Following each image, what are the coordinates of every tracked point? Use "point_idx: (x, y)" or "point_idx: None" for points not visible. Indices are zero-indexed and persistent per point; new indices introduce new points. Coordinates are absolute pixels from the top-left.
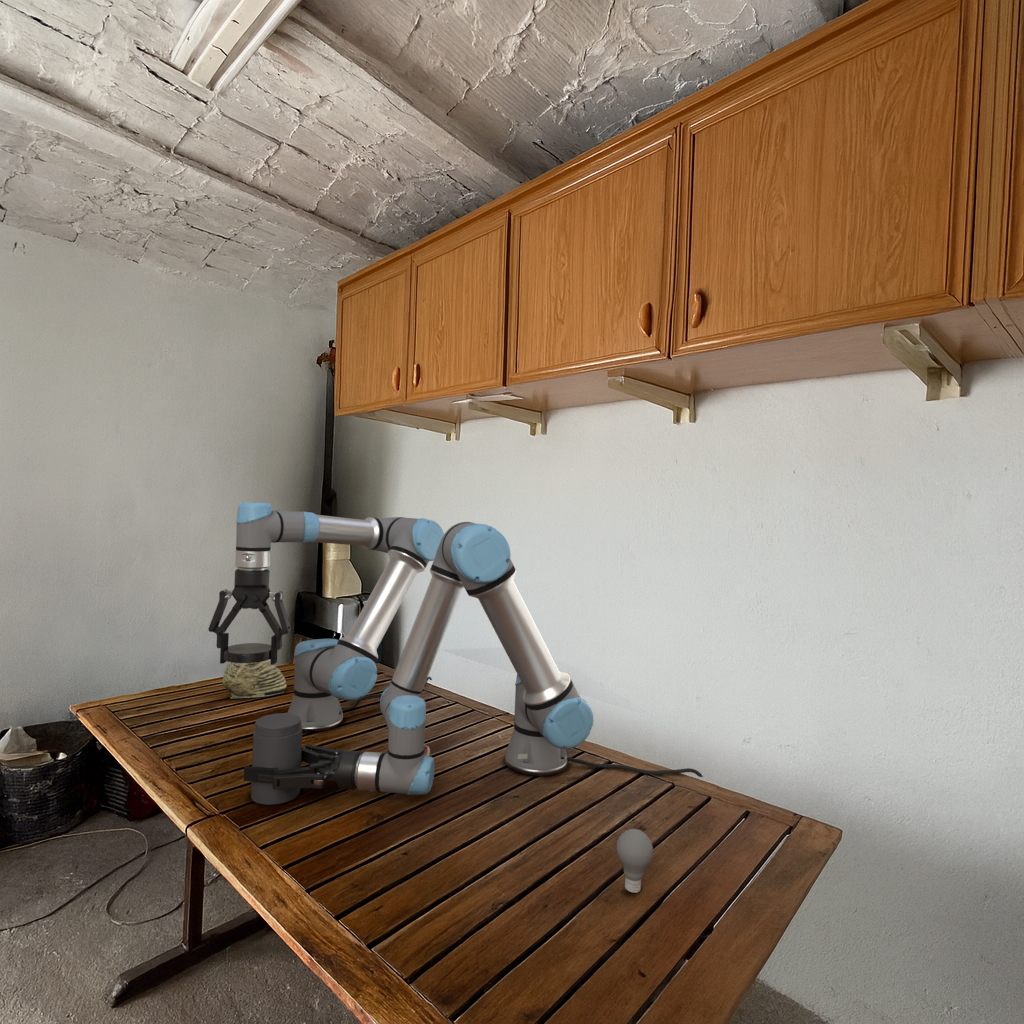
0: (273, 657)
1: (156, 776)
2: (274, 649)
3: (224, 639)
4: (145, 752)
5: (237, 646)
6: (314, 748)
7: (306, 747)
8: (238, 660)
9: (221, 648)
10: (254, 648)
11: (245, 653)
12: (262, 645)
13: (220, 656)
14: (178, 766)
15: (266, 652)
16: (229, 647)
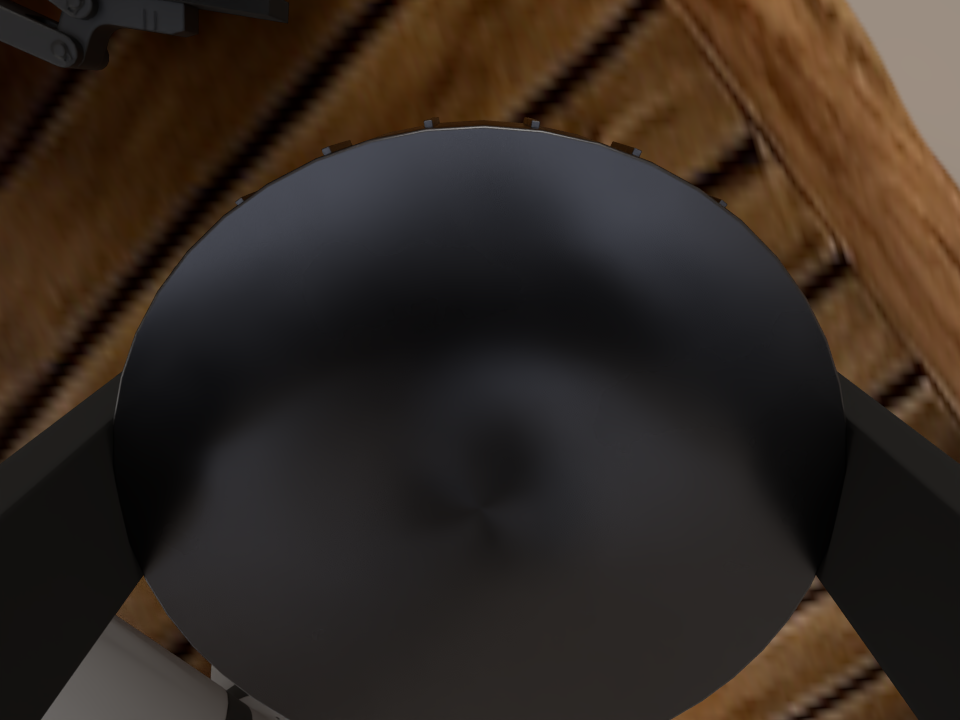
0: (115, 378)
1: (820, 69)
2: (46, 443)
3: (954, 526)
4: (933, 321)
5: (686, 586)
6: (5, 7)
7: (64, 32)
8: (520, 124)
9: (898, 427)
10: (399, 502)
11: (414, 156)
12: (356, 666)
13: (842, 380)
14: (756, 180)
15: (139, 338)
16: (788, 520)
